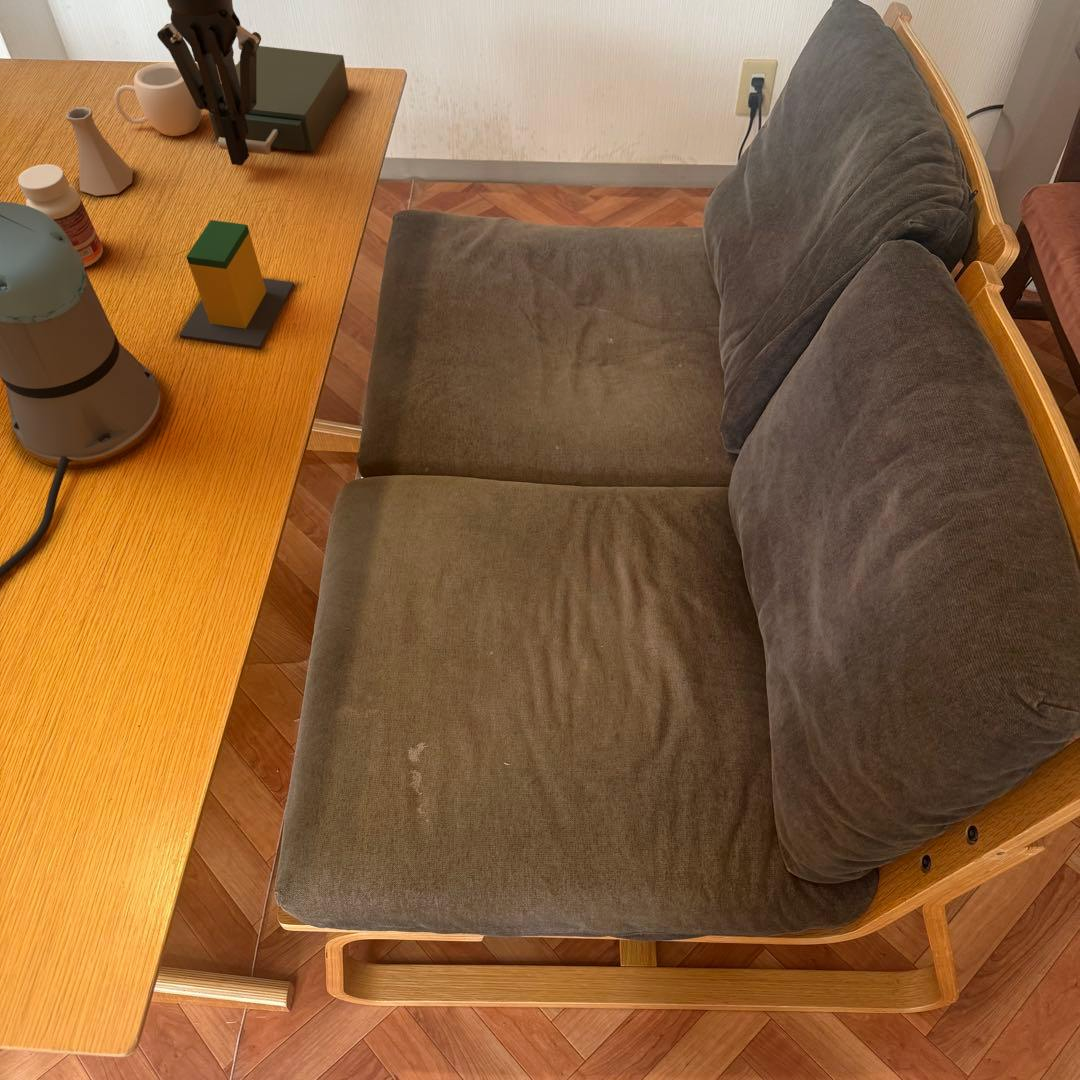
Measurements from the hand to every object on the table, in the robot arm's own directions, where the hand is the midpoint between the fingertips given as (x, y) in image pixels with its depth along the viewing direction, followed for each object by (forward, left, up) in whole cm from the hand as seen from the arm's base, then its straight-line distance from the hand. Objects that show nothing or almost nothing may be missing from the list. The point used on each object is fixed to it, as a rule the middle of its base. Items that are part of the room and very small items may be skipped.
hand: (240, 159), depth 124 cm
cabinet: (+17, 0, -3) cm, 17 cm away
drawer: (+12, 0, -2) cm, 12 cm away
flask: (-5, +18, -3) cm, 19 cm away
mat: (-27, -10, -3) cm, 29 cm away
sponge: (-27, -10, -2) cm, 29 cm away
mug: (+10, +16, -3) cm, 19 cm away
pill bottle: (-21, +14, -3) cm, 26 cm away
